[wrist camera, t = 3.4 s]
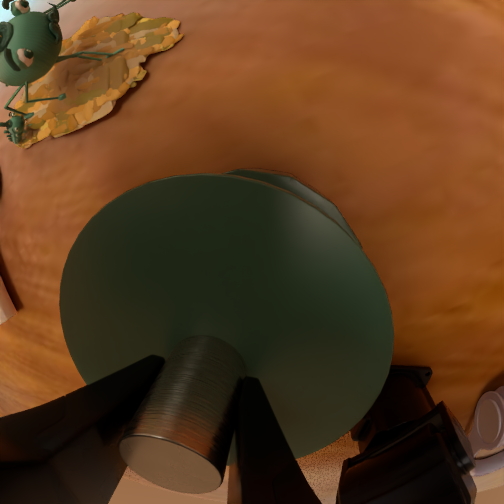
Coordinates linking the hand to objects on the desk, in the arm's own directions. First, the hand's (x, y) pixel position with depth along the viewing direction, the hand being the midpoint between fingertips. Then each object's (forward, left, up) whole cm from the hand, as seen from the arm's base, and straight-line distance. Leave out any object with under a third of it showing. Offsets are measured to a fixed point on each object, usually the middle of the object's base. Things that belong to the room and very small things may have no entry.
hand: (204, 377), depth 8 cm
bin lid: (0, 0, -1) cm, 1 cm away
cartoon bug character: (+15, -12, -13) cm, 23 cm away
